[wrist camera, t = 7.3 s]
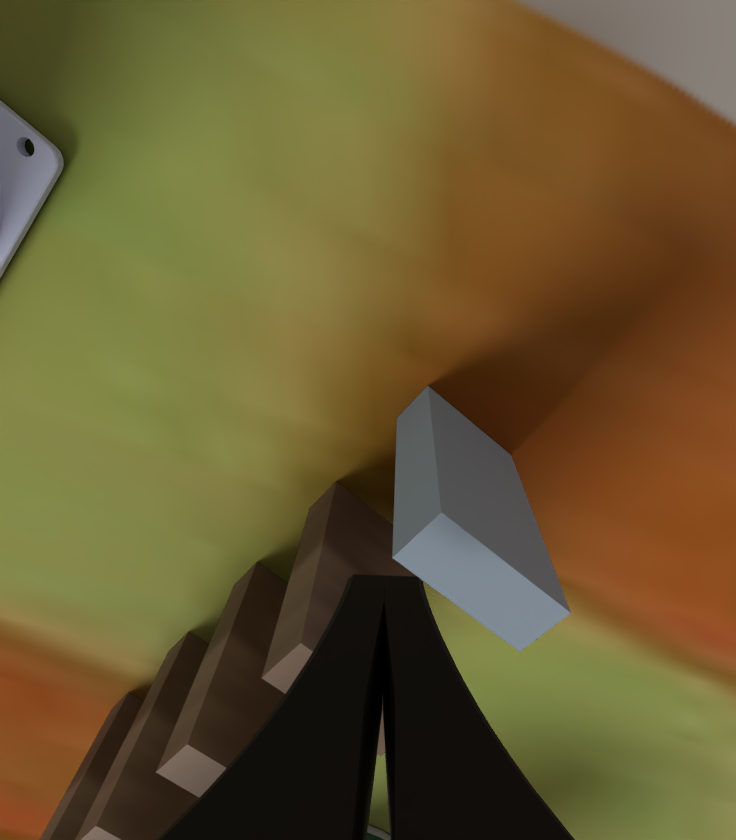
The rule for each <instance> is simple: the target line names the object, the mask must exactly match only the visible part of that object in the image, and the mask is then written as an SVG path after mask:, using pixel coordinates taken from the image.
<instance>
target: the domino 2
mask: <svg viewBox="0 0 736 840" xmlns="http://www.w3.org/2000/svg"><path fill="white" fill-rule="evenodd" d="M208 646H209V645H208V644H207V643H205V642H203V641H202V640H200V639H199V638H197V637H196V636H194V635H193V634H191V633H190V632H187V634H186V635H185V636H184V637H183V638H182V639H181V640H180V641H179V642H178V643H177V644H176V645H175V646H174V647H173V648H172V649H171V650H170V651H169V652H168V654H167V656H166V658H165V660H164V662H163V664H162V666H161V668H160V670H159V672H158V674H157V676H156V678H155V680H154V682H153V684H152V686H151V688H150V690H149V692H148V694H147V696H146V698H145V700H144V702H143V704H142V706H141V708H140V710H139V712H138V714H137V716H136V718H135V720H134V722H133V724H132V726H131V728H130V730H129V732H128V734H127V736H126V738H125V740H124V742H123V744H122V746H121V748H120V750H119V752H118V754H117V756H116V758H115V760H114V762H113V764H112V766H111V768H110V770H109V772H108V774H107V776H106V778H105V780H104V782H103V784H102V786H101V788H100V790H99V792H98V794H97V797H96V799H95V801H94V803H93V805H92V807H91V809H90V811H89V813H88V815H87V817H86V819H85V821H84V823H83V825H82V827H81V829H80V831H79V833H78V835H77V837H76V839H75V840H157V839H158V838H159V837H160V836H161V835H162V834H163V833H164V832H165V831H166V830H167V829H168V828H169V827H170V826H171V825H172V824H173V823H174V822H175V821H176V820H177V819H178V818H179V817H180V816H181V815H182V814H183V813H184V812H185V811H186V810H187V809H188V808H189V807H190V806H191V805H192V804H193V803H194V802H195V801H196V800H197V799H198V798H199V797H197V796H196V795H194V794H192V793H191V792H189V791H187V790H185V789H184V788H182V787H180V786H179V785H177V784H175V783H173V782H172V781H170V780H168V779H167V778H165V777H163V776H161V775H160V774H158V773H156V771H157V768H158V766H159V764H160V761H161V759H162V756H163V754H164V752H165V749H166V747H167V744H168V742H169V740H170V737H171V735H172V733H173V730H174V728H175V725H176V723H177V721H178V718H179V716H180V713H181V711H182V709H183V706H184V704H185V701H186V699H187V697H188V694H189V692H190V689H191V687H192V685H193V682H194V680H195V677H196V675H197V673H198V670H199V668H200V665H201V663H202V661H203V658H204V656H205V653H206V651H207V649H208Z"/></svg>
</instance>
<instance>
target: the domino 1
mask: <svg viewBox="0 0 736 840" xmlns="http://www.w3.org/2000/svg"><path fill="white" fill-rule="evenodd" d="M142 704H143V701H142V700H140V699H138V698H137V697H135V696H134V695H132V694H130V693H129V692H128V693H127V694H126V696H125V697H124V698H123V699H122V700H121V701H120V702H119V703H118V704H117V705H116V706H115V707H114V708H113V709H112V710H111V711H110V713H109V715H108V717H107V718H106V720H105V722H104V724H103V726H102V727H101V729H100V731H99V733H98V735H97V736H96V738H95V740H94V742H93V744H92V746H91V747H90V749H89V751H88V753H87V755H86V756H85V758H84V760H83V762H82V764H81V766H80V767H79V769H78V771H77V773H76V775H75V776H74V778H73V780H72V782H71V784H70V785H69V787H68V789H67V791H66V793H65V795H64V796H63V798H62V800H61V802H60V804H59V805H58V807H57V809H56V811H55V813H54V814H53V816H52V818H51V820H50V822H49V824H48V825H47V827H46V829H45V831H44V833H43V834H42V836H41V838H40V840H75V839H76V837H77V835H78V833H79V831H80V829H81V827H82V825H83V823H84V821H85V819H86V817H87V815H88V813H89V811H90V809H91V807H92V805H93V803H94V801H95V799H96V797H97V794H98V792H99V790H100V788H101V786H102V784H103V782H104V780H105V778H106V776H107V774H108V772H109V770H110V768H111V766H112V764H113V762H114V760H115V758H116V756H117V754H118V752H119V750H120V748H121V746H122V744H123V742H124V740H125V738H126V736H127V734H128V732H129V730H130V728H131V726H132V724H133V722H134V720H135V718H136V716H137V714H138V712H139V710H140V708H141V706H142Z"/></svg>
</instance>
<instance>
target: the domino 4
mask: <svg viewBox="0 0 736 840" xmlns="http://www.w3.org/2000/svg"><path fill="white" fill-rule="evenodd" d="M392 552H393V525H392V524H390V523H389V522H388V521H387V520H385V519H384V518H383V517H381V516H380V515H379V514H378V513H376V512H375V511H374V510H372V509H371V508H370V507H369V506H367V505H366V504H365V503H363V502H362V501H361V500H360V499H358V498H357V497H356V496H354V495H353V494H352V493H351V492H349V491H348V490H347V489H345V488H344V487H343V486H342V485H340V484H339V483H338V482H335V483H334V484H333V485H332V486H331V487H330V488H329V489H328V490H327V491H326V492H325V493H324V494H323V495H322V496H321V497H320V498H319V499H318V500H317V501H316V502H315V503H314V504H313V505H312V506H311V508H310V509H309V512H308V516H307V519H306V523H305V526H304V530H303V533H302V537H301V540H300V544H299V547H298V551H297V554H296V558H295V561H294V565H293V569H292V572H291V576H290V579H289V583H288V586H287V590H286V593H285V597H284V600H283V604H282V607H281V611H280V614H279V618H278V621H277V625H276V628H275V632H274V636H273V639H272V643H271V646H270V650H269V653H268V657H267V660H266V664H265V667H264V671H263V674H262V679H264V680H265V681H267V682H268V683H270V684H271V685H273V686H274V687H276V688H277V689H279V690H280V691H282V692H283V693H285V694H286V692H287V691H288V689H289V688H290V686H291V685H292V683H293V682H294V680H295V679H296V677H297V676H298V674H299V673H300V671H301V670H302V668H303V667H304V665H305V664H306V662H307V661H308V659H309V657H310V656H311V654H312V652H313V651H314V649H315V647H316V645H317V643H318V642H319V640H320V638H321V636H322V635H323V633H324V631H325V629H326V628H327V626H328V624H329V622H330V620H331V618H332V616H333V614H334V612H335V610H336V608H337V606H338V604H339V601H340V599H341V597H342V594H343V592H344V589H345V587H346V584H347V580H348V579H349V578H350V577H351V576H352V575H354V574H359V575H385V577H386V575H388V576H416V575H415V574H413V573H412V572H411V571H409V570H408V569H407V568H405V567H404V566H403V565H401V564H400V563H399V562H397V561H396V560H394V559H393V558H392ZM384 753H385V740H384V723H383V705H382V716H381V724H380V733H379V741H378V749H377V754H378V755H380V756H381V755H383V754H384Z"/></svg>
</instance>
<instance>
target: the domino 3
mask: <svg viewBox="0 0 736 840" xmlns="http://www.w3.org/2000/svg"><path fill="white" fill-rule="evenodd" d="M287 586H288V584H287V583H286V582H285V581H283V580H282V579H280V578H279V577H277V576H276V575H275V574H273V573H272V572H270V571H269V570H268V569H266V568H265V567H263V566H262V565H261V564H259V563H258V562H256V563H255V564H254V565H253V566H252V567H251V568H250V569H249V570H248V572H247V573H246V574H245V575H244V576H243V577H242V578H241V579H240V580H239V581H238V582H237V583H236V584H235V585H234V586H233V589H232V591H231V594H230V596H229V598H228V601H227V603H226V606H225V608H224V610H223V613H222V615H221V618H220V620H219V622H218V625H217V627H216V629H215V632H214V634H213V637H212V639H211V641H210V644H209V646H208V649H207V651H206V653H205V656H204V658H203V661H202V663H201V665H200V668H199V670H198V673H197V675H196V677H195V680H194V682H193V685H192V687H191V689H190V692H189V694H188V697H187V699H186V701H185V704H184V706H183V709H182V711H181V713H180V716H179V718H178V721H177V723H176V725H175V728H174V730H173V733H172V735H171V737H170V740H169V742H168V744H167V747H166V749H165V752H164V754H163V756H162V759H161V761H160V764H159V766H158V768H157V771H156V773H158V774H160V775H161V776H163V777H165V778H167V779H168V780H170V781H172V782H173V783H175V784H177V785H179V786H180V787H182V788H184V789H185V790H187V791H189V792H191V793H192V794H194V795H196V796H197V797H200V796H201V795H202V794H203V793H204V792H205V791H206V790H207V789H208V788H209V787H210V786H211V785H212V784H213V783H214V782H215V780H216V779H217V778H218V777H219V776H220V775H221V774H222V773H223V772H224V770H225V769H226V768H227V767H228V766H229V765H230V763H231V762H232V761H233V760H234V759H235V758H236V756H237V755H238V754H239V753H240V752H241V751H242V750H243V748H244V747H245V746H246V745H247V744H248V743H249V741H250V740H251V739H252V738H253V736H254V735H255V734H256V733H257V731H258V730H259V729H260V727H261V726H262V725H263V724H264V722H265V721H266V720H267V719H268V717H269V716H270V715H271V713H272V712H273V711H274V709H275V708H276V706H277V705H278V704H279V702H280V701H281V699H282V698H283V697H284V695H285V693H283V692H282V691H280V690H279V689H277V688H276V687H274V686H273V685H271V684H270V683H268V682H267V681H265V680H264V679H262V674H263V671H264V667H265V664H266V660H267V657H268V653H269V650H270V646H271V643H272V639H273V636H274V632H275V628H276V625H277V621H278V618H279V614H280V611H281V607H282V604H283V600H284V597H285V593H286V590H287Z"/></svg>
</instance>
